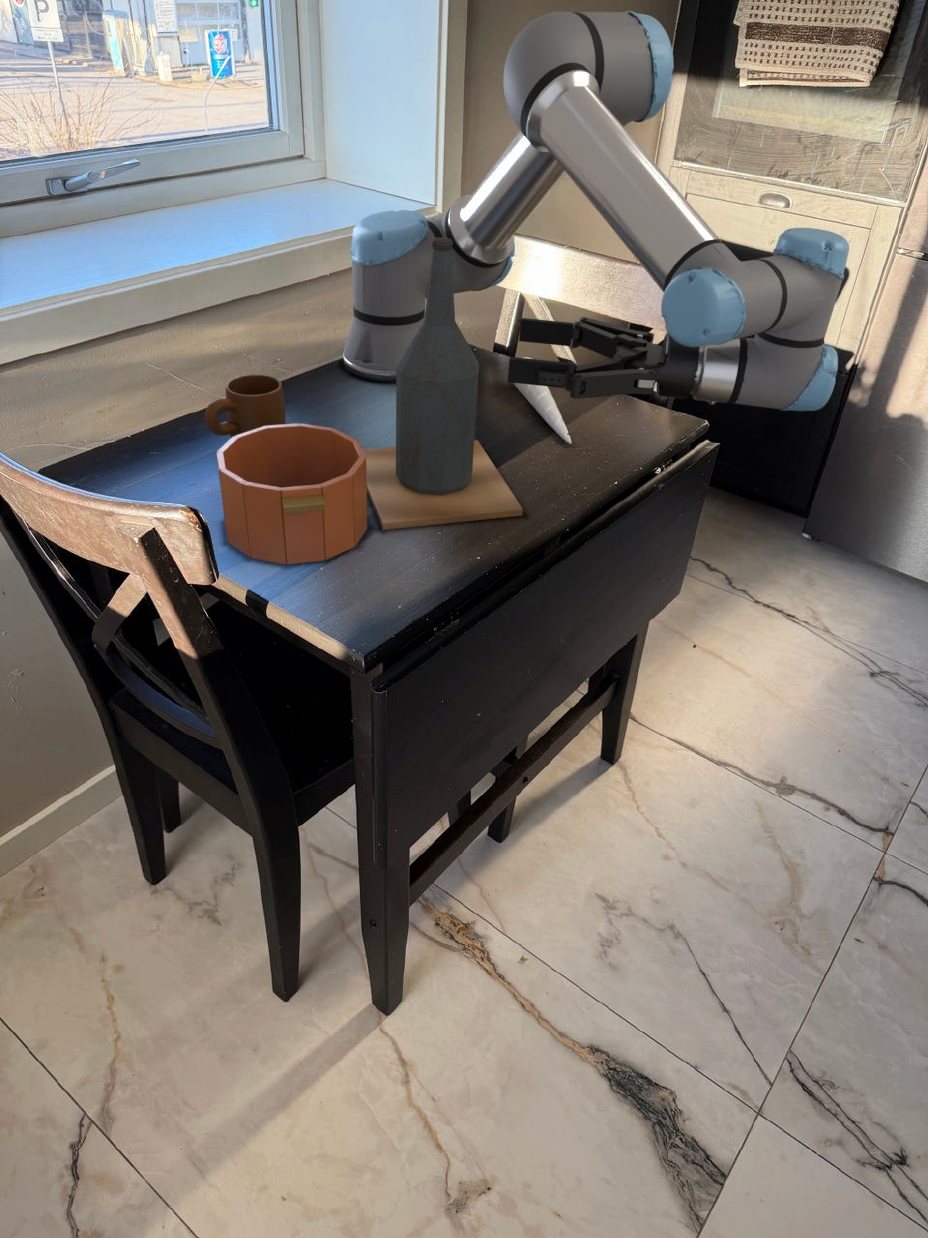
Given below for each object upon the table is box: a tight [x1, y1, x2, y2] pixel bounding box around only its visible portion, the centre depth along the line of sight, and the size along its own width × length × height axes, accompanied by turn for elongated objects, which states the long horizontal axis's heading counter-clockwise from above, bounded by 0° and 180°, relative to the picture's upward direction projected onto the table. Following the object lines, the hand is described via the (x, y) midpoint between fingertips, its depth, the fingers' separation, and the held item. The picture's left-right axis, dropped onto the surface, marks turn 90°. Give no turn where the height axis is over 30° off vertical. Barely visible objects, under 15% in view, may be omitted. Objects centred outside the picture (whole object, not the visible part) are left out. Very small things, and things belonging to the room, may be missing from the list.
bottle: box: [395, 237, 480, 495], centre depth 110 cm, size 10×10×30 cm
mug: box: [204, 374, 287, 439], centre depth 121 cm, size 12×8×9 cm, turn 142°
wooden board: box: [362, 439, 524, 531], centre depth 120 cm, size 20×18×1 cm
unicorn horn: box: [512, 356, 572, 445], centre depth 139 cm, size 5×24×5 cm, turn 12°
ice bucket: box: [215, 422, 368, 566], centre depth 107 cm, size 21×17×10 cm
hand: (514, 348), depth 108 cm, fingers open, 13 cm apart
